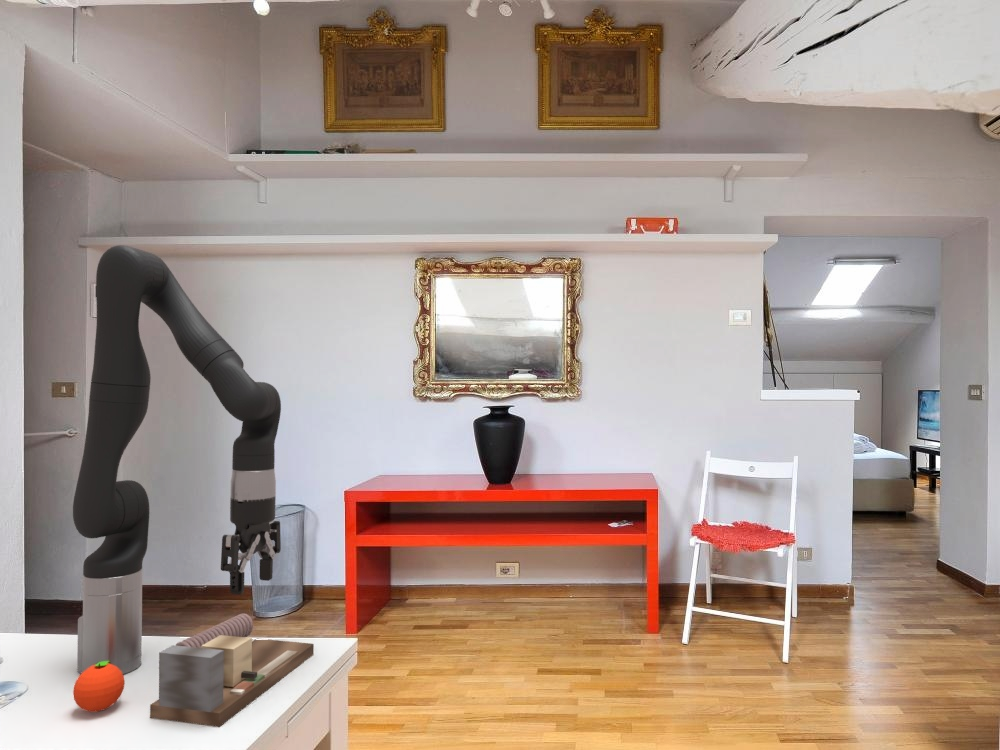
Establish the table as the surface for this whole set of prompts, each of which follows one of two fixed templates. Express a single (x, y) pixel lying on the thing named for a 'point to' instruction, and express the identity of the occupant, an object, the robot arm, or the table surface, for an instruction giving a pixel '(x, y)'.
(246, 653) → the block
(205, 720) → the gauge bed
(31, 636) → the table surface
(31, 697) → the table surface
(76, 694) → the clementine
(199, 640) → the coil
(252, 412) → the robot arm
